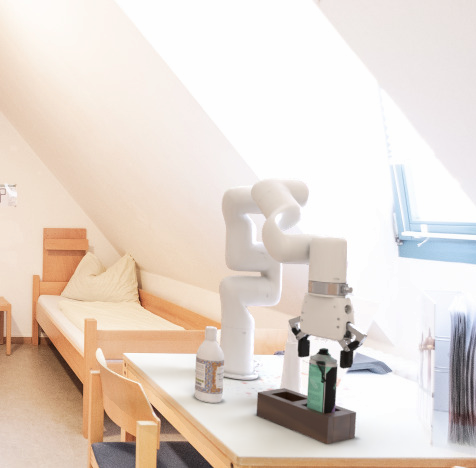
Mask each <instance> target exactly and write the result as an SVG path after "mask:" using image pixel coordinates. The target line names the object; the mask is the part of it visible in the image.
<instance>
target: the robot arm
mask: <svg viewBox="0 0 476 468" xmlns="http://www.w3.org/2000/svg"><path fill="white" fill-rule="evenodd" d="M311 194H312V193H311V188H310V187H309V185H308V183H307V182H306V181H304V180H303V179H300V178H291V177H290V178H285V177H283V178H282V177H281V178H279V177H267V178H262V179H260V180H258V181H256V182H255V183H254V184H253V185H238V186H233V187H230V188H228V189H227V190H226V191H225V192H224V194H223V196H222V198H221V212H222V216H223V219H224V220H223V221H224V224H225V251H224V252H225V254H224V256H225V265H226V267H227V268H228V269H229V270H231V271H235V272H253V273H259V274H260V276H259V275H239V274H238V275H229V276H225V277H223V278H222V280H221V281H220V282H219V285H218V292H219V300H220V309H221V310H220V314H221V315H220V339H219V340H220V341H219V345H220V347H221V349H222V351H223V354H224V373H223V378H224V377H225V378H228V379H233V380H242V381H243V380H244V381H252V380H256V379H258V378H259V373H258V371H256V370H255V369H256V368H261V367H263V361H261V360H254V354H255V353H254V350H255V333H256V332H255V330H256V329H255V328H256V322H255V318H254V316H253V314H252V313H251V312H250V310H249V309H248V307H274V306H278V304H279V303H280V301H281V297H282V289H283V265H307V266H308V280H307V292H306V293H304V297H303V300H302V305H301V310H300V315H299V316H296V317H292V318H290V319H288V325H289V324H290V327H291V328H292V329H291V330H292V332H293V334H294V335H295V336H296V339H297V340H298V357H301V358H307V357H310V351H311V340H310V337H316V338H320V339H325V340H331V341H337V343H338V344H339V345H340V347H341V348H342V350H340V351H339V352H340V353H339V368H340V369H343V370H344V369H350V368H352V366H353V364H354V351H357V349H358V348H360V347H361V346H363V344H364V342H365V340H366V339H367V338H368V334H367V333H366V332H365V331H363V330H361V328H359V327H357V326H355V312H354V305H353V301H352V297H351V296H348V294H352V293H353V292H354V291H353V290H354V289H353V287H351V286H349V283H348V280H349V279H348V277H349V259H350V258H349V257H350V241H349V239H347V238H346V237H344V236H343V237H342V236H332V235H331V236H330V235H327V234H315V233H314V234H313V233H310V234H309V233H285V232H284V231H287V230H289V229H292V228H293V227H295V226H297V224H299V223H300V221H301V220H302V218H303V215H304V210H303V209H304V207H306V206H307V205H308V204H309V202H310V201H311V196H312V195H311ZM248 214H249V215H248ZM251 214H252V215H263V217H264V219H265V221H264V223H263V225H262V228H261V240H262V241H257V225H256V224H255V222H254V220H253V219H252V218H251V217H250V215H251ZM298 323H299V325H300V328H299V327H298Z"/></svg>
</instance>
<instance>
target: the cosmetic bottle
mask: <svg viewBox="0 0 476 468" xmlns="http://www.w3.org/2000/svg"><path fill="white" fill-rule="evenodd" d="M298 327H299V328H300V322H299V323H298ZM291 329H292V328H291V327H290V324H289V323H288V327H287V340H285V343H284V352H283V364H282V373H281V380H280V381H281V382H280V385H279V389H282V388H285V389H288V390H291V391H294V392H297V393H300V394H303V387H302V386H303V383H302V381H303V380H302V357H298V340H297V339H296V336H295V335H294V334H293V332H292V330H291Z"/></svg>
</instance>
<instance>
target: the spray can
mask: <svg viewBox="0 0 476 468" xmlns="http://www.w3.org/2000/svg"><path fill="white" fill-rule="evenodd" d="M308 361H309V362H308V363H309V364H308V377H307V395H306V396H307V407H308V408H311V409H314V410H317V411H319V412H322V413H325V414H326V413H331V412H335V405H336V401H337V400H336V398H337V383H338V382H337V381H338V380H337V379H338V365H339V364H338V360H337V359H335V358H334V357H332V354H331V353H330V352H329V348H325V347H323V348H322V347H321V348H319V349H318V351H317V352H316V354H314V355H311V356H310V355H309V360H308Z"/></svg>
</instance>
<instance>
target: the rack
mask: <svg viewBox="0 0 476 468" xmlns="http://www.w3.org/2000/svg"><path fill="white" fill-rule="evenodd" d="M307 396H308V395H307V394H306V395H305V394H303V393H302V394H300V393H297V392H294V391H291V390H288V389H285V388H282V389H280V388H276V389H275V388H274V389H269V390H263V391H258V392H257V401H256V416H257V417H259V418H261V419H264V420H267V421H269V422H272V423H274V424H277V425H280V426H282V427H284V428H287V429H289V430H291V431H293V432H296V433H299V434H301V435H303V436H306V437H308V438H311V439H314V440H315V441H318V442H321V443H323V444H325V445H328V444H329V445H330V444H333V443H337V442H342V441H346V440H350V439H354V438H355V437H356V422H357V421H356V420H357V412H356V411H354V410H351V409H347V408H345V407H342V406H338V405H337V404H335V412H331V413H326V414H325V413H322V412H319V411H317V410H314V409H311V408H308V407H307Z"/></svg>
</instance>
